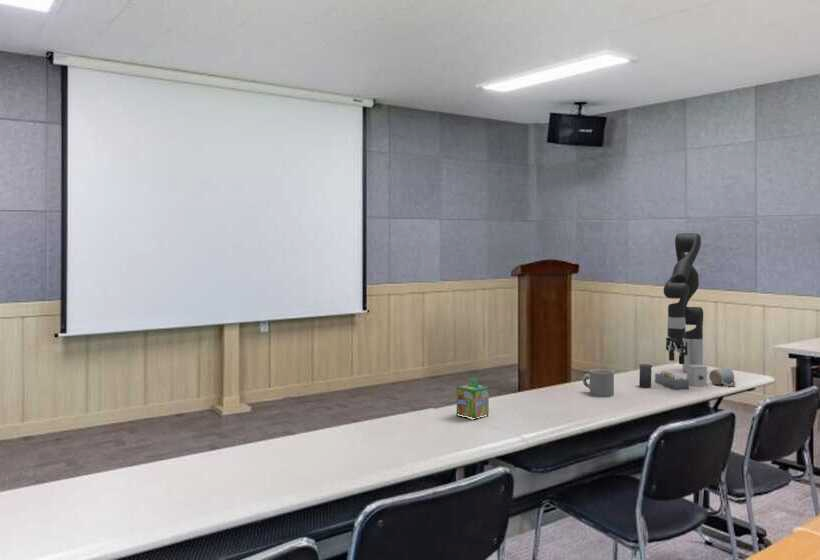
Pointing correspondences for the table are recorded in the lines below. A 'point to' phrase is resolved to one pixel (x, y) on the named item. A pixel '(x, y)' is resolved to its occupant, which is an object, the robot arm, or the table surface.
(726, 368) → the ceramic mug
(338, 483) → the table surface
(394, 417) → the table surface
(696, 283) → the robot arm
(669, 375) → the breaker strip
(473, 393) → the chalk box
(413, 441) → the table surface
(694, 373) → the junction box
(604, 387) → the coffee mug
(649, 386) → the dark grey upright block
